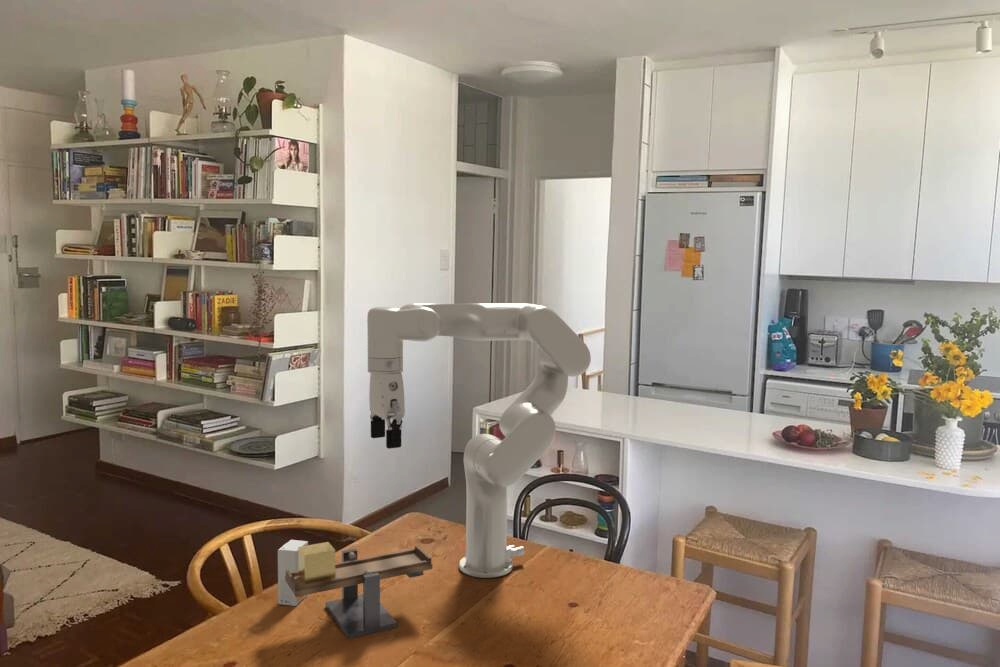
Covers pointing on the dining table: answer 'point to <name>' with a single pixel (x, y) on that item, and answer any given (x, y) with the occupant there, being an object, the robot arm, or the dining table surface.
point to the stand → (361, 607)
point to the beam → (365, 570)
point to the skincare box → (289, 562)
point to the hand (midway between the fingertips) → (385, 442)
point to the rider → (316, 562)
